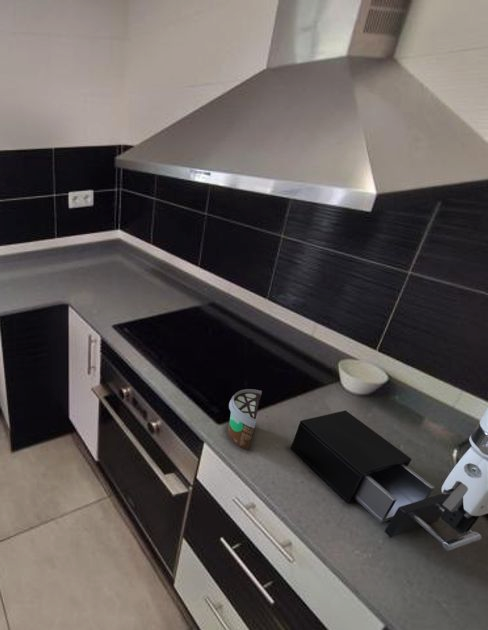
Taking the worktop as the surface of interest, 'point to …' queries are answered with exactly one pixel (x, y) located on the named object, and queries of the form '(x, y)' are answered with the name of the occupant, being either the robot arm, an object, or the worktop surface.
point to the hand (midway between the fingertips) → (453, 524)
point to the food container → (243, 416)
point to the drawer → (405, 503)
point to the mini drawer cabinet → (343, 451)
